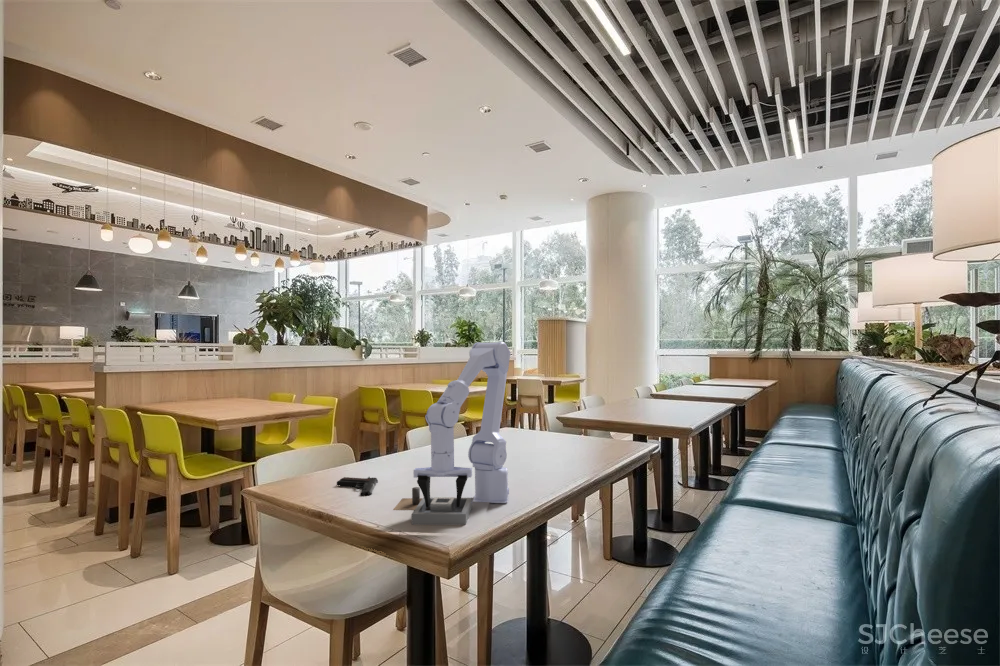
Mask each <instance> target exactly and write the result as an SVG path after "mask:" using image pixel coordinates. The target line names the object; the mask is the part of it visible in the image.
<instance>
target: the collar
mask: <svg viewBox="0 0 1000 666" xmlns="http://www.w3.org/2000/svg"><path fill="white" fill-rule="evenodd" d="M433 498H434V499H433V500H432V502H431V504H430V511H431V512H455V498H456V497H450V496H449V497H443V496H441V497H433Z"/></svg>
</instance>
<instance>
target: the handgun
mask: <svg viewBox="0 0 1000 666" xmlns="http://www.w3.org/2000/svg"><path fill="white" fill-rule="evenodd" d="M377 484H378V478H377V477H370V476H368V477H366V478H364V477H363V478H362V477H345V476H344V477H341V478H340V479H339V480H337V481H336V486H337V485H340V486H339V487H344V486H353V487H352V488H355V489H356V490H361V491H360V493H359V496H360V497H365V496H367V495H368V496H371V495H372V494H373V491H374V489H375V487H376V485H377Z"/></svg>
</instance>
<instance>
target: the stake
mask: <svg viewBox="0 0 1000 666" xmlns="http://www.w3.org/2000/svg"><path fill="white" fill-rule="evenodd" d="M411 489H412V490H411V492H412V493H411V497H410V498H409V497H405V498H401V500H400V501H399V502H398V503H397V504H396V506H394V507H393V509H392V511H414V510H415V509H416V507H417V506H418V504H419V503H420V501H421V500H422V499H423V498H424V497H422V498H421V489H420V487H419V486H418V487H417V486H415V487H412V488H411ZM427 510H428V508H427ZM429 510H430V508H429Z"/></svg>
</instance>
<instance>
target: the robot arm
mask: <svg viewBox="0 0 1000 666" xmlns="http://www.w3.org/2000/svg"><path fill="white" fill-rule="evenodd" d="M468 353H469V358H468V360H467V362H466V363H465V366H464V367H463V369H462V371H461V372H460V374H459V376H458V378H457V380H451V381H450V382H448V384H447V387H446V389H445V390H444V392H443V393H442V395H441V396H440V397H439V398H438V400H437V402H435V403H432V404H431V405H430V406H429V407H428V409H427V411H426V414H425V416H424V417H425V420H426V423H427V424H428V430H429V432H430V447H431V448H430V461H431V462H430V463H431V465H430V466H428V467H415V468H414V469H413V478H415V479H417V480H416V482H417V484H418V485H417V486H418V487H419V488H420V492H422V495H423V498H424V499H425V504H426V507H429V506H430V498H431V478H432V477H433V478H436V477H437V478H438V477H439V478H443V477H444V478H445V477H447V478H452V477H453V478H456V479H455V486H456V487H455V488H456V498H457V500H456V506H457V507H460V503H461V498H462V496H463V492H464V489H465V486H466V483H467V480H468V479H469V478H472V476H473V468H474V489H475V490H474V496H473V498H472V503H475V502H476V503H489V504H507V503H508V501H509V500H508V499H509V495H510V488H509V474H508V473H509V471H508V467H505V466H504V464H505V462H506V461H507V454H508V453H507V447H506V446H507V441H506V439H505V438H504V437H503V436H502V435H501V434H500V428H501V421H502V414H503V413H502V412H503V407H504V406H503V405H504V401H505V400H504V399H505V394H506V393H505V391H506V384H507V383H506V382H507V379H508V377H507V376H508V372H509V367H510V359H511V351H510V349H509V347H508V345H507V343H506V342H504V341H499V342H497V341H495V342H490V341H489V342H481V341H478V342H475V343H474V344H473V345H472V347H471V349H470V350H469V352H468ZM481 371H482V372H484V373H485V374H486V376H487V382H486V389H485V395H484V404H483V411H482V417H481V418H482V419H481V424H480V430H479V431H478V432H477V433H476V434H475V435H473V436H472V440H471V444H470V446H469V448H468V452H467V453H468V454H467V456H468V460H469V462H470V463H471V464H472V467H462V466H461V467H460V466H455V440H454V439H455V437H454V436H455V434H454V431H455V430H454V429H455V427H454V426H455V425H456V424H457V423H458V421H459V418H460V417H459V416H460V415H459V414H460V412H461V407H462V405H463V404H464V403H465V401H466V400H467V398H468V396H469V394H470V389H469V387H470V385H471V384H472V382H474V380H475V379H476V377H477V376H478V374H480V372H481ZM503 466H504V467H503Z"/></svg>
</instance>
